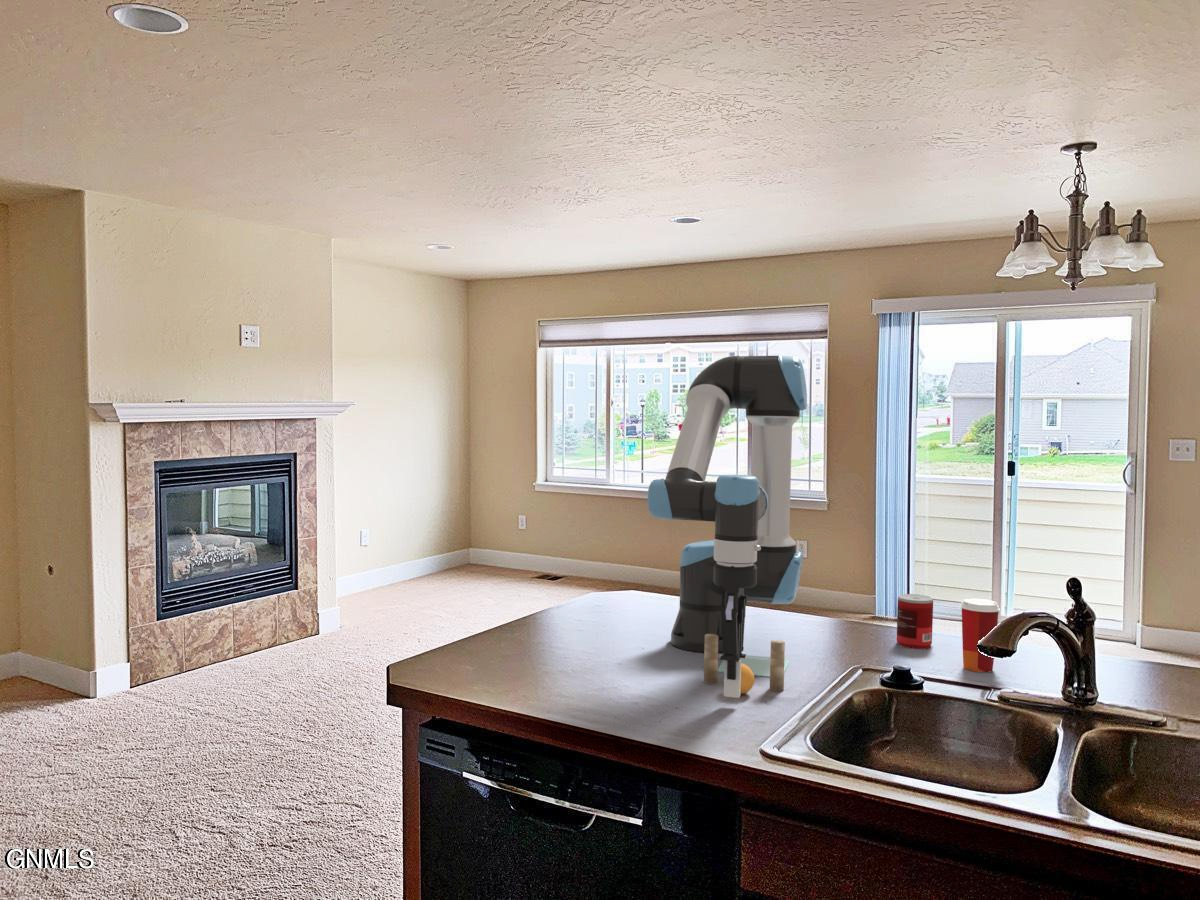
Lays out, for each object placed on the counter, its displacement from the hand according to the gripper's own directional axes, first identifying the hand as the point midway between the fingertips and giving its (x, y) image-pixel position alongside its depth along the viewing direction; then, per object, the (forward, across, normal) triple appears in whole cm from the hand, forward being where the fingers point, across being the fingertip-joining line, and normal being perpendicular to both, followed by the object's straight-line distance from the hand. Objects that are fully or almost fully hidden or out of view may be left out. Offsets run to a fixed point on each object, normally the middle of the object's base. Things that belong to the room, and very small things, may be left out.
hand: (732, 695), depth 156 cm
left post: (+2, +13, +6) cm, 15 cm away
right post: (+2, +13, -6) cm, 15 cm away
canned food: (+2, +59, -32) cm, 67 cm away
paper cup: (+2, +43, -44) cm, 62 cm away
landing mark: (+2, +27, 0) cm, 27 cm away
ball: (-1, +8, 0) cm, 8 cm away
